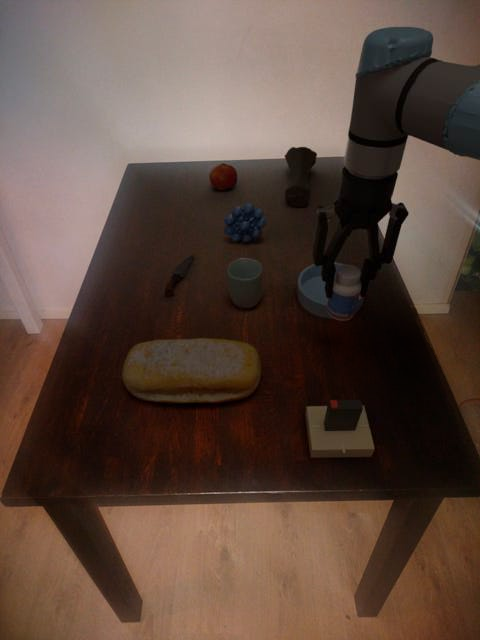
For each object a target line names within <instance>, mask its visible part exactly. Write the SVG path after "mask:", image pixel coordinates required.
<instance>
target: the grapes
mask: <svg viewBox="0 0 480 640" xmlns="http://www.w3.org/2000/svg"><path fill="white" fill-rule="evenodd" d="M264 214H265V211H264V210H263V209H262V208H261V207H257V208H255V205H254V204H253V203H251V202H249V203H246V204H244V205H243V207H242V206H241V205H235V206H234V207H233V208H232V209H231V214H228V215H226V216H225V217H224V224H225V227H224V233H225V235H227V236H230V240H231V241H232V242H234V243H238V242H240V241H241V242H242V243H244V244H248V243H250V242H251V241H252V240H253V238H254V239H257V238H260V237H262V236H261V235H262V234H263V230H262V229H264V228H265V227H266V226H267V224H268V221H267V219H266V218H265V217H264V216H265V215H264Z"/></svg>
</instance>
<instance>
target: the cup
mask: <svg viewBox="0 0 480 640" xmlns="http://www.w3.org/2000/svg"><path fill="white" fill-rule="evenodd" d="M226 274H227V275H226V276H227V286H228V287H227V288H228V292H229V297H230V299H231V301H232V303H233V304H234V305H235V306H236V307H239V308H242V309H252V308H255V306H257V305H258V304H259V302H260V301H261V298H262V294H263V287H264V268H263V265H262V263H261V262H260V261H259V260H257V259H254V258H250V257H240V258H237V259H234V260H233V261H231V262H230V263H229V265H228V267H227V270H226Z"/></svg>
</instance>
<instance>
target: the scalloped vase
mask: <svg viewBox="0 0 480 640" xmlns="http://www.w3.org/2000/svg"><path fill="white" fill-rule="evenodd" d="M317 156H318V154H317V152H316V151H314V150H312V149H311V148H309V147H307V146H298V147H295V146H293V147H290V148H289V149H288V150H287V152H286V154H284V159H285V160H286V163H287V167H288V166H289V167H288V169H289V168H290V169H289V170H290V180H289V183H288V185H287V187H286V189H285V191H284V192H285V194H284V195H285V196H284V197H285V201H286V203H287V205H288V206H291V207H294V208H303V207H305V206H306V205H307V204H308V203H309V201H310V197H311V188H310V183H309V182H310V181H309V176H310V171H311V169H312V168H313V167H314V166H315V165H316V163H317Z"/></svg>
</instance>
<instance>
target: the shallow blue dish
mask: <svg viewBox="0 0 480 640" xmlns="http://www.w3.org/2000/svg"><path fill="white" fill-rule="evenodd" d="M334 264H335V268H336V272H335V276H336V274H337V270H338V268H339V267H340V266H342V265H345V263H340V262H337V261H335V262H334ZM321 272H322V266H321V265H320V266H315V264H314V263H313V264H311V265H309V266H307V267H305V268H304V269H303V270H302V271H301V272H300V273H299V276H298V278H297V282H296V283H297V284H296V299H297V301H298V303H299V305H300V306H301V307H302V308H303V309H304V310H305V311H307V312H308V313H310V314H312V315H313V316H316V317H320V318H324V319H329V320H331V319H332V320H333V318H332V317H330V316H329V315H328V313H327V303H328V298H327V297H326V292H325V282H323V280H322V276H321ZM360 276H361V274H360ZM359 280H360V279H359ZM364 301H365V297H361V295H360V296H359V300H358V304H357V308H356V312H355V314H356V313H357V312H358V311H359V310H360V309H361V308H362V306H363V304H364Z"/></svg>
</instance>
